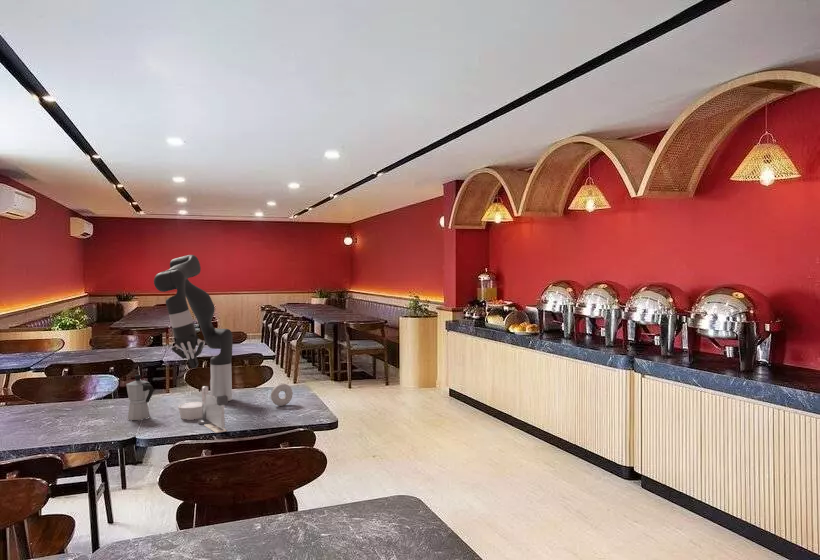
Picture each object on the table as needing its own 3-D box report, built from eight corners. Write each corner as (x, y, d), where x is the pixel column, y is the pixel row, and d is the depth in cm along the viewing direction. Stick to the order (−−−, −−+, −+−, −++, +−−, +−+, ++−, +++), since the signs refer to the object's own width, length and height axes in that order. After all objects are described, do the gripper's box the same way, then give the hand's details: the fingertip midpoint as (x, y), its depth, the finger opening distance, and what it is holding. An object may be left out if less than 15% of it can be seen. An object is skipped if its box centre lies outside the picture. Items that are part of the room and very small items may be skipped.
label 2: (210, 429, 223) (210, 428, 223) (220, 427, 226) (220, 426, 226) (216, 433, 218) (216, 431, 218) (226, 431, 221) (226, 429, 221)
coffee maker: (118, 419, 240) (117, 375, 239) (136, 413, 248) (136, 371, 247) (144, 423, 233) (143, 378, 233) (162, 417, 241) (161, 374, 241)
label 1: (204, 425, 229) (204, 424, 229) (214, 423, 231) (214, 422, 231) (209, 428, 224) (209, 427, 224) (219, 427, 226) (219, 425, 226)
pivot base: (194, 422, 233) (194, 420, 233) (208, 419, 237) (208, 417, 237) (202, 425, 229) (202, 423, 229) (216, 422, 233) (216, 419, 233)
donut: (291, 403, 263) (290, 381, 263) (294, 404, 261) (293, 382, 260) (269, 406, 258) (269, 384, 257) (272, 408, 255) (272, 385, 255)
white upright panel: (200, 419, 233) (199, 386, 232) (208, 417, 235) (207, 385, 234) (219, 430, 216) (219, 396, 216) (228, 429, 218) (227, 394, 218)
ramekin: (173, 417, 241) (173, 405, 241) (199, 412, 250) (199, 400, 249) (186, 422, 234) (186, 409, 234) (212, 416, 242) (212, 404, 242)
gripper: (160, 329, 212) (173, 374, 216) (195, 322, 211) (207, 367, 214) (170, 324, 220) (182, 367, 223) (203, 317, 219) (215, 361, 222)
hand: (195, 367), depth 219 cm, fingers closed
